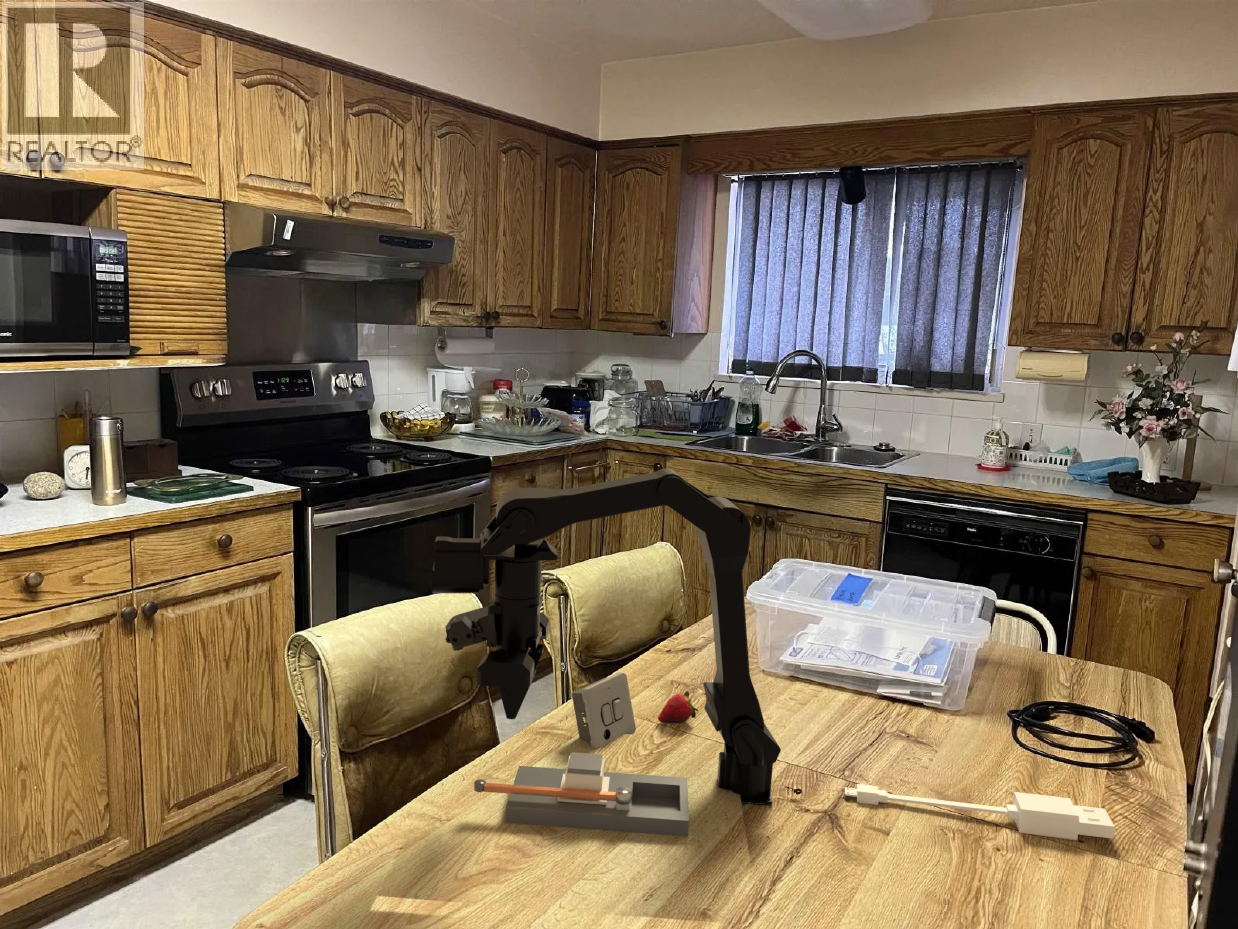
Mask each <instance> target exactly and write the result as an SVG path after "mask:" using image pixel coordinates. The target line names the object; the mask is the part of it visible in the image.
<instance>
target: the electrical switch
mask: <svg viewBox="0 0 1238 929" xmlns="http://www.w3.org/2000/svg"><path fill="white" fill-rule="evenodd" d="M571 699H572V704H573V708H574V715H575V720H576V726H577V733H578V737H579V739H581V740H584V741H586V742H587V743H590V746H591V748H593V749H598V748H601V747H603V746H605V745H606V744H609V743H611V742H612V741H614V740H616V739H617V738H620V737H621V736H623V735H634V734H635V733H636V730H637V727H636V721H635V715H634V710H633V704H632V700H631V699H632V698H631V694H630V687H629V682H628V676H627V674H626V673H625V672H618V673H615V674H613V675H611V676H608V677H603V678H601V679H599V680H596V681H595V682H592V683H589V684H588V685H586V686H584V687H582V688H580V689H579V688H578V689H576V690H574V691H572V692H571Z"/></svg>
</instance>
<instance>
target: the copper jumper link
mask: <svg viewBox="0 0 1238 929" xmlns="http://www.w3.org/2000/svg"><path fill="white" fill-rule="evenodd" d="M473 784H474V785H473V790H474V792H477V793H483V792H484V793H499V794H509V795H510V794H522V795H535V796H549V797H563V798H577V799H590V800H604V801H616V802H617V803H618V804H621V805H627V804H630V803H631V801H632V790H631V789H630V788H627V787H619V788H617V789H616V792H606V791H592V790H579V789H565V788H551V787H537V786H523V785H513V784H508V783H507V784H506V783H496V782H495V783H493V782H487V781H486V780H485V779H481V778H480V779H476V780H475V781H474V783H473Z"/></svg>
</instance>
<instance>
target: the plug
mask: <svg viewBox="0 0 1238 929" xmlns="http://www.w3.org/2000/svg"><path fill="white" fill-rule="evenodd" d="M605 761H606V760H605V757H603V754H601V753H599V754H598V753H584V752H574V751H573V752H571V753H570V755H569V756H568V761H567V765H566V768H565V769H566V773H565V774H563V777H562V781H561V786H560V788H565V789H579V790H592V791H606V792H608V789H609V781H610V777H604V772H605ZM558 801H561V802H574V803H588V804H602V805H607V801H604V800H590V799H577V798H563V797H558Z"/></svg>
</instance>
